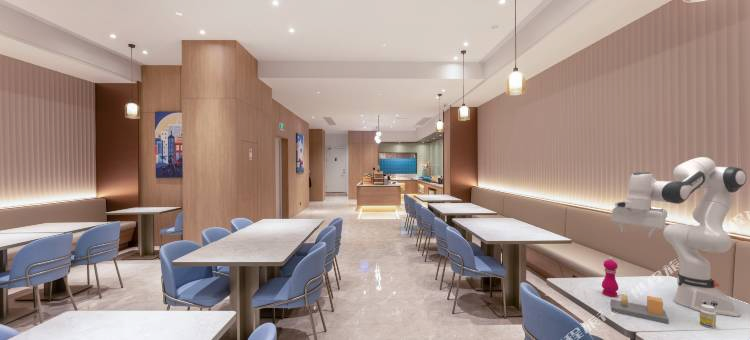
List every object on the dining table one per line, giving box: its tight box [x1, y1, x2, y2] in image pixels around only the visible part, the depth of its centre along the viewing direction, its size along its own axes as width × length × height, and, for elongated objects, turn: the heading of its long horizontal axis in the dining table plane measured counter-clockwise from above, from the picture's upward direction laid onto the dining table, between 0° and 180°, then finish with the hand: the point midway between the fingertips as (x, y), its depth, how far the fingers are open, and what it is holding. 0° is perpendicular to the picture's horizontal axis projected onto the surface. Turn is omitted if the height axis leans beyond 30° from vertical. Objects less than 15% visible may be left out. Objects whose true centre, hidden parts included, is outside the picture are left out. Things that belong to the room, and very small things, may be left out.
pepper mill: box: [601, 256, 619, 298], centre depth 172 cm, size 7×7×20 cm
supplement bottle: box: [699, 304, 717, 329], centre depth 139 cm, size 5×5×8 cm
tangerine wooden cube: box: [646, 295, 664, 315], centre depth 147 cm, size 5×5×6 cm
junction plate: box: [610, 293, 670, 325], centre depth 151 cm, size 20×12×7 cm, turn 55°
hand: (635, 234), depth 153 cm, fingers open, 8 cm apart
